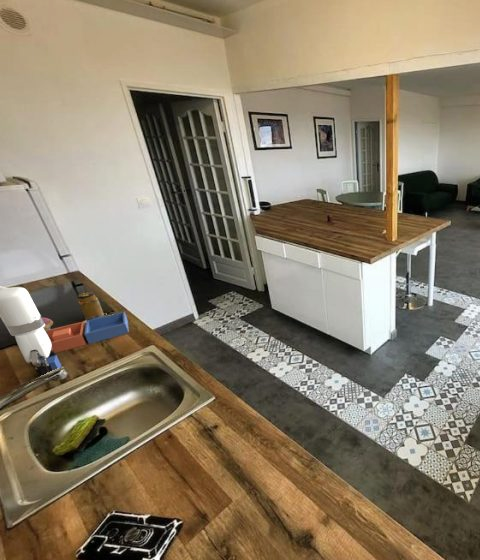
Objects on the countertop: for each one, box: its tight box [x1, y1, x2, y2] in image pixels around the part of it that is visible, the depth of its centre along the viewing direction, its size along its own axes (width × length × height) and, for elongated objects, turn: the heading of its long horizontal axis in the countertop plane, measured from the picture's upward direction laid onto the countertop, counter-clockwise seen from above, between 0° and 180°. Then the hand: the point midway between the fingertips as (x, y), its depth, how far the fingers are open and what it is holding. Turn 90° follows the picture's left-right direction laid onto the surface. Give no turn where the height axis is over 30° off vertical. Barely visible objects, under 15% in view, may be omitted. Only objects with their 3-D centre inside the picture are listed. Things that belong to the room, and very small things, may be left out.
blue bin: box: [85, 311, 130, 345], centre depth 126 cm, size 12×12×4 cm
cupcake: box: [42, 317, 54, 331], centre depth 122 cm, size 9×8×12 cm
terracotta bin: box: [45, 320, 88, 354], centre depth 119 cm, size 12×12×4 cm
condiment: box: [77, 291, 107, 324], centre depth 134 cm, size 7×8×12 cm
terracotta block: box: [52, 328, 74, 341], centre depth 119 cm, size 4×4×4 cm
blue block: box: [40, 354, 62, 370], centre depth 104 cm, size 4×4×4 cm
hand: (50, 368), depth 105 cm, fingers open, 8 cm apart
